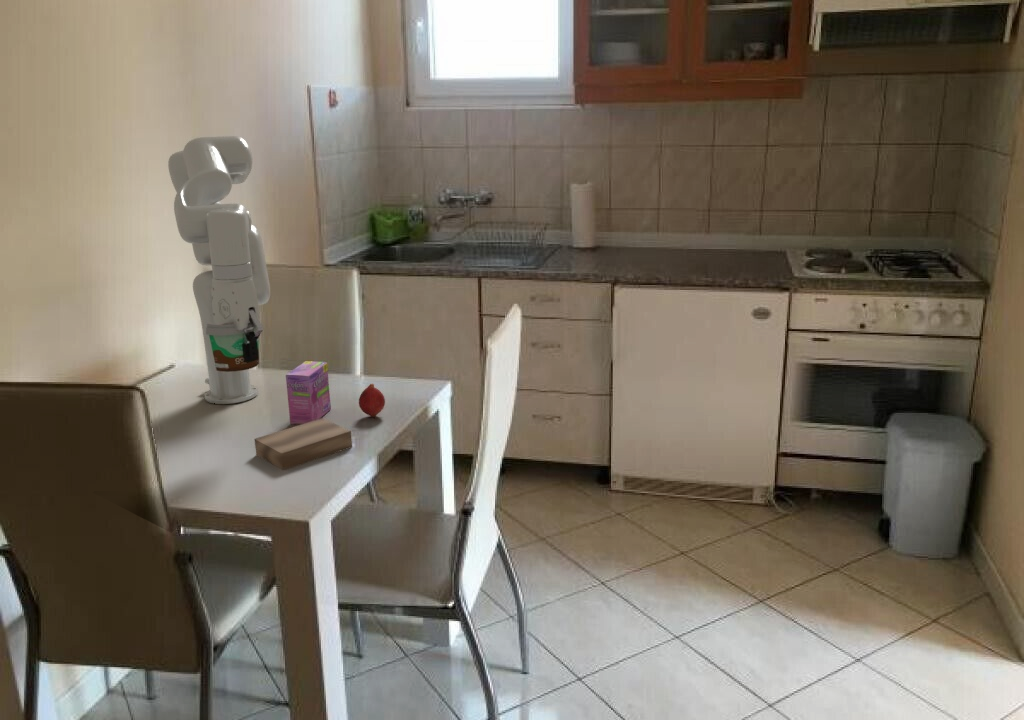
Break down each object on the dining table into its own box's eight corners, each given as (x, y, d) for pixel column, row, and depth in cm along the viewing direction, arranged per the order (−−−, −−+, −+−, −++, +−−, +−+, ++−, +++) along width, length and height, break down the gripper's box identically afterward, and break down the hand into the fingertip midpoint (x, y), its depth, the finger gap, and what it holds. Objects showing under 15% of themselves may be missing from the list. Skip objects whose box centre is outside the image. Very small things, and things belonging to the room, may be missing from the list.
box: (313, 425, 189) (308, 375, 186) (289, 424, 191) (284, 374, 187) (332, 409, 199) (327, 361, 196) (309, 408, 200) (304, 360, 197)
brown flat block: (256, 456, 174) (254, 438, 173) (323, 435, 185) (322, 418, 184) (283, 472, 166) (281, 453, 165) (352, 448, 177) (350, 430, 176)
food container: (231, 377, 168) (225, 328, 165) (210, 372, 171) (204, 324, 168) (278, 361, 178) (273, 315, 175) (257, 357, 181) (253, 311, 178)
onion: (363, 423, 190) (360, 389, 188) (357, 414, 195) (354, 382, 193) (388, 418, 192) (386, 385, 190) (382, 411, 197) (379, 378, 195)
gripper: (191, 270, 171) (202, 356, 177) (242, 279, 161) (252, 370, 166) (223, 264, 177) (233, 347, 182) (274, 273, 167) (283, 361, 172)
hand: (242, 357), depth 174 cm, fingers closed on food container, 5 cm apart
